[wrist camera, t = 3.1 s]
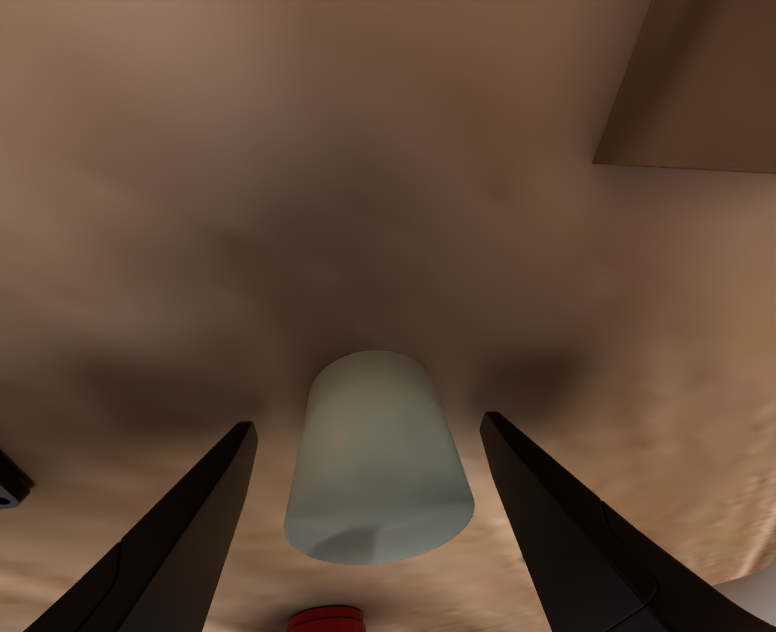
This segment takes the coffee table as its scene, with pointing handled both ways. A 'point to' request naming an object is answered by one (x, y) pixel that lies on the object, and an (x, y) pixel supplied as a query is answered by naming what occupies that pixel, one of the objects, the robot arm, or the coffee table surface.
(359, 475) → the stubby sage cylinder
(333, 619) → the plastic cup
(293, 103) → the coffee table surface
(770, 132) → the walnut block
